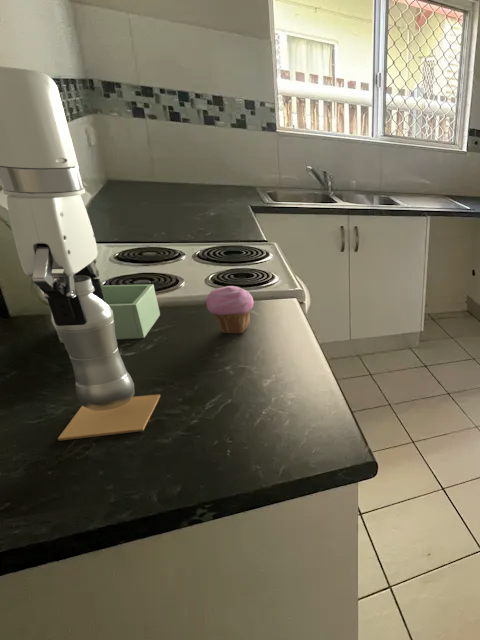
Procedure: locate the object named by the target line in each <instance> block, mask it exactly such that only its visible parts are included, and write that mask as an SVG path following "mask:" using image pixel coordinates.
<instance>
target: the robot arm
mask: <svg viewBox="0 0 480 640" xmlns="http://www.w3.org/2000/svg"><path fill="white" fill-rule="evenodd" d="M75 151H76V150H75V148H74V144H73V141H72V136H71V133H70V129H69V126H68V122H67V118H66V115H65V109H64V107H63V103H62V98H61V96H60V91H59V88H58V86H57V84H56V82H55V81H54V80H53V79H52V77H51V76H49V75H48V74H46V73H44V72H41V71H38V70H33V69H25V68H16V67H10V66H9V67H8V66H0V187H1V189H2V192H3V194H4V195H6V202H7V211H8V212H7V213H8V218H9V223H10V228H11V233H12V237H13V240H14V244H15V247H16V251H17V255H18V258H19V262H20V265H21V268H22V271H23V273H24V275H26V276H28V277H31V279H32V282H33V283H34V284H35V285H36V286H37V287H39V290H41V292H42V293H43V296H44V299H46V300H47V302H48V306H49V307H50V309H51V312H52V315H53V318H54V321H55V324H56V325H57V326H71V325H84V324H86V323H87V318H86V315H85V312H84V308H83V305H82V302H81V298H80V295H78V296H75V284H74V276H76V275H83V276H89V277H90V278H91V281H92V285H93V286H94V289H95V291H94V292H93V294H94V295H95V296H97V297H98V298H100V299H101V300H103V301H104V302H105V303H106V300H105V296H104V293H103V289H102V286H103V285H102V282H101V278H100V271H99V269H98V267H97V264H96V263H97V257H98V254H99V251H98V246H97V241H96V237H95V233H94V230H93V227H92V222H91V221H90V217H89V214H88V211H87V208H86V206H85V203H84V200H83V198H82V195H83V194H86V189H85V185H84V181H83V178H82V174H81V170H80V167H79V163H78V159H77V156H76V152H75ZM53 270H63V271H62V272H53ZM56 279H65V286H64V285H62V284H61V283H60V282H55V280H56Z"/></svg>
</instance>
